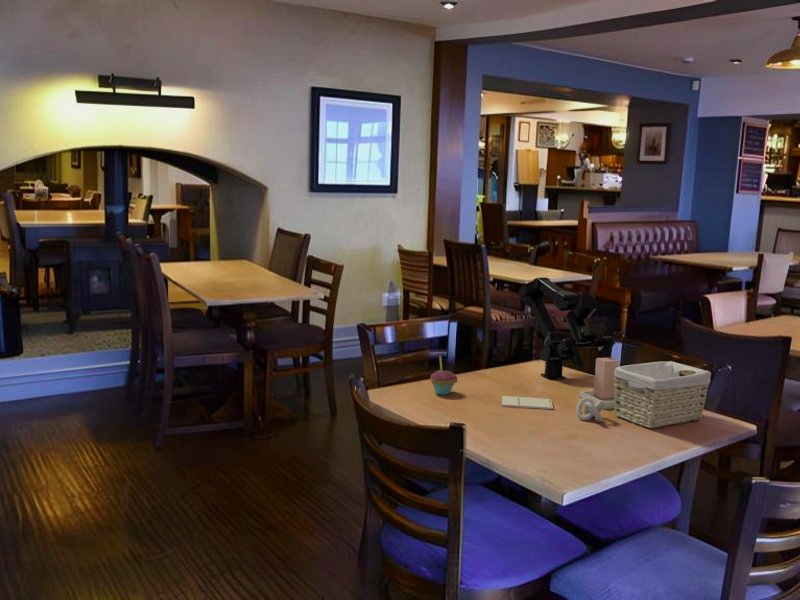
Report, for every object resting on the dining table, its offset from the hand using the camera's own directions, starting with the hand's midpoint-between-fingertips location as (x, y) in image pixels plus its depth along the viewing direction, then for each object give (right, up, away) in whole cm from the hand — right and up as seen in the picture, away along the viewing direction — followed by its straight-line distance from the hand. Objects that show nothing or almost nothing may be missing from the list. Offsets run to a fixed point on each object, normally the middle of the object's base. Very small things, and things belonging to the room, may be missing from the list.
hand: (595, 368), depth 224 cm
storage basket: (+13, -13, -18) cm, 26 cm away
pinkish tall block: (+2, -10, -4) cm, 10 cm away
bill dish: (+2, -10, -4) cm, 11 cm away
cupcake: (-48, -8, +2) cm, 49 cm away
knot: (-7, -13, -21) cm, 26 cm away
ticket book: (-23, -10, -8) cm, 26 cm away
